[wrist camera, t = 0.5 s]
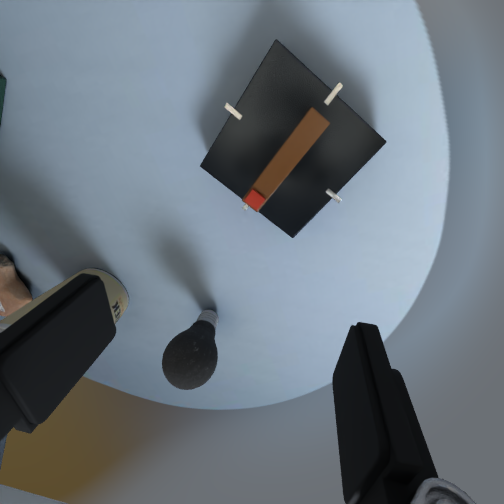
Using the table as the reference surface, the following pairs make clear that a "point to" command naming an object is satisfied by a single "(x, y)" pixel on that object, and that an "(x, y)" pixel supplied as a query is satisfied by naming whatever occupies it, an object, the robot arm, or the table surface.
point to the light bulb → (192, 353)
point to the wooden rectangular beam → (286, 158)
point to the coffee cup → (112, 285)
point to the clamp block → (276, 132)
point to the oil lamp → (11, 288)
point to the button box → (2, 94)
